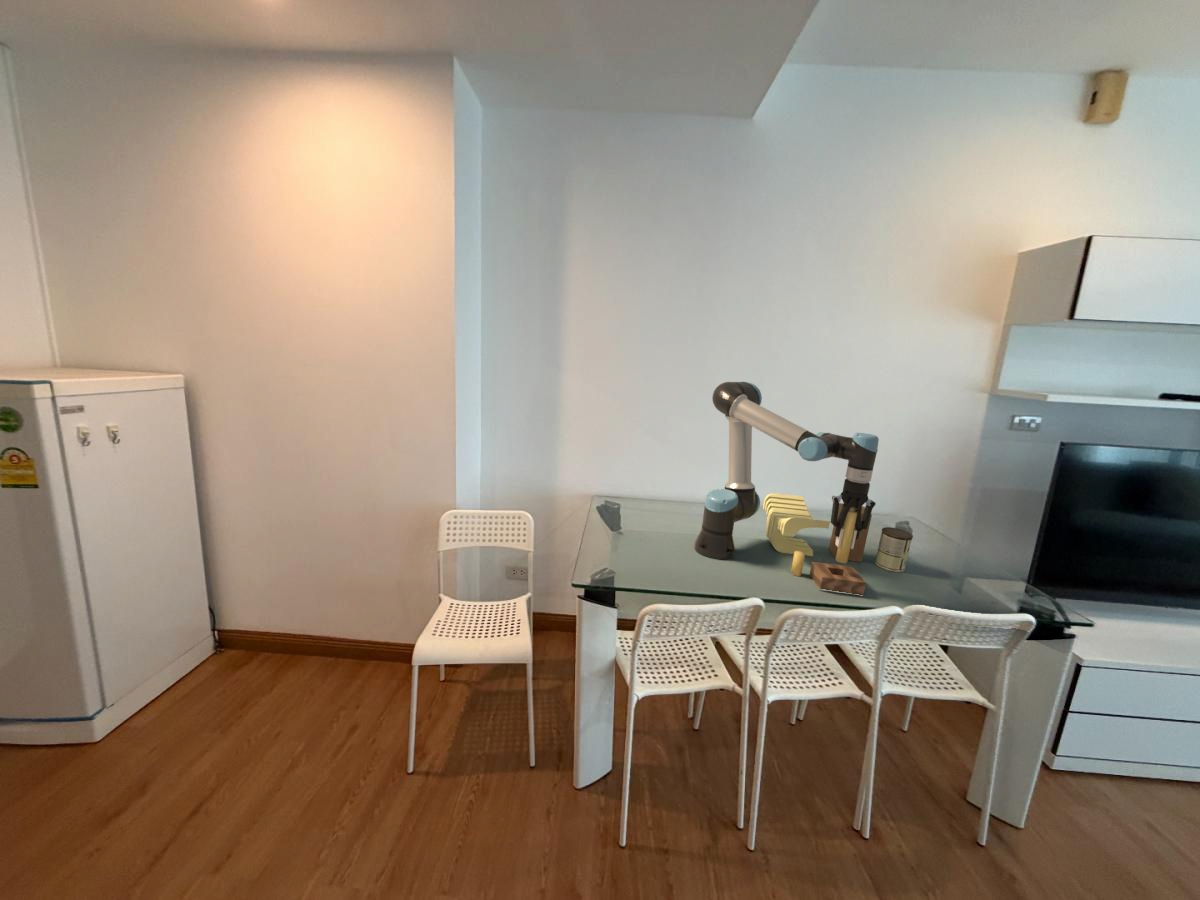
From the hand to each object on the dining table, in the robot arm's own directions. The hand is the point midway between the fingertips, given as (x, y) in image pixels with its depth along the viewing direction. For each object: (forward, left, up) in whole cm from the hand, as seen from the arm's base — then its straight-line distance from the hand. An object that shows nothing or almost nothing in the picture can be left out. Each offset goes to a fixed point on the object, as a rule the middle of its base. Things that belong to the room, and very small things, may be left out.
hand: (844, 546), depth 169 cm
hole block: (0, 0, -15) cm, 15 cm away
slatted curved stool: (-9, +30, -15) cm, 35 cm away
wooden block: (+13, +29, -15) cm, 35 cm away
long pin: (0, 0, -5) cm, 5 cm away
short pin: (-12, +5, -15) cm, 20 cm away
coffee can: (+28, +24, -15) cm, 40 cm away
